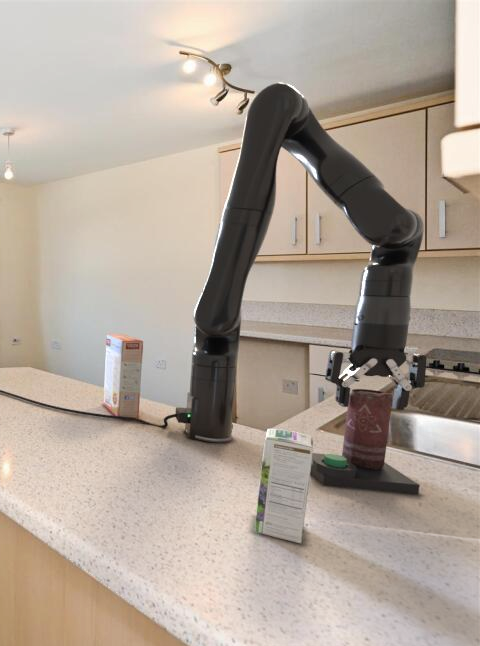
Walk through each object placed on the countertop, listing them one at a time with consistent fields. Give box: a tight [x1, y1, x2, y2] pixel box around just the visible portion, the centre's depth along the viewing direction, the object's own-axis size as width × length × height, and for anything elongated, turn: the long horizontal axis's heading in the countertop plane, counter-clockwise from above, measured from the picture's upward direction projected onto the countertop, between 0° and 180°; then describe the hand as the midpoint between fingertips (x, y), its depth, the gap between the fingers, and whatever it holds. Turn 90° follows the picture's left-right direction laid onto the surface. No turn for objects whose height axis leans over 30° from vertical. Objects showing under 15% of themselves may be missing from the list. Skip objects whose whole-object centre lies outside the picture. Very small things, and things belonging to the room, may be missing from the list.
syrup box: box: [254, 428, 314, 544], centre depth 68 cm, size 6×6×14 cm
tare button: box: [324, 453, 347, 468], centre depth 85 cm, size 3×3×2 cm
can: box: [341, 388, 394, 470], centre depth 87 cm, size 6×6×14 cm
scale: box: [310, 452, 420, 496], centre depth 87 cm, size 15×13×4 cm
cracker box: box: [102, 333, 144, 419], centre depth 128 cm, size 14×6×21 cm, turn 179°
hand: (369, 407), depth 87 cm, fingers open, 8 cm apart
